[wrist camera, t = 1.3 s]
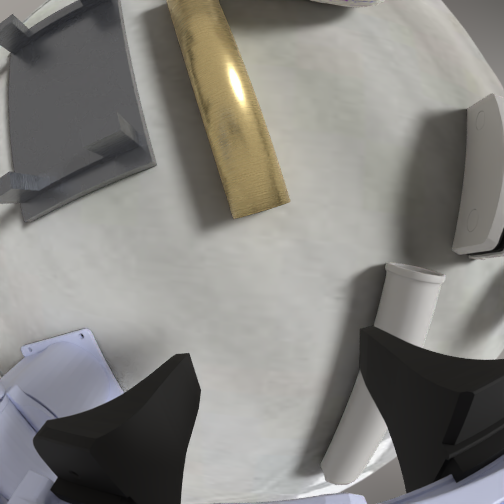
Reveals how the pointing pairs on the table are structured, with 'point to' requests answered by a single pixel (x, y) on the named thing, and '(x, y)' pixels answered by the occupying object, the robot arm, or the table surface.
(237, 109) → the brass pin
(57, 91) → the corner post stand
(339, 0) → the paper bowls
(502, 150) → the white rounded block
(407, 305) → the tube
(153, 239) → the table surface
